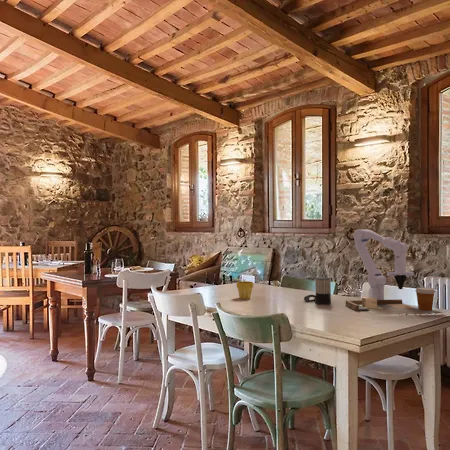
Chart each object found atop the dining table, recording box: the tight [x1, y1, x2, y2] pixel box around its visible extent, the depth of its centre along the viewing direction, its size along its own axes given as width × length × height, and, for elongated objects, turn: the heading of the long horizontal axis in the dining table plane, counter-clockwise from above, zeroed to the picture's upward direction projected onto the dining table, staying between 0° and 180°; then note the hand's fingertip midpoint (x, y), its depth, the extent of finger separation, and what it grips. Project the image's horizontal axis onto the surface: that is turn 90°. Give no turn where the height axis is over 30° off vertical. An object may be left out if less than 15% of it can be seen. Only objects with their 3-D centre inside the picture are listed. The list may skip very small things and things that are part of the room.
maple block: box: [361, 296, 377, 308], centre depth 243 cm, size 6×6×4 cm
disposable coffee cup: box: [414, 286, 436, 312], centre depth 233 cm, size 10×10×12 cm
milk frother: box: [303, 276, 332, 306], centre depth 262 cm, size 14×16×15 cm
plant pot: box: [236, 280, 254, 300], centre depth 281 cm, size 10×10×10 cm
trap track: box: [345, 298, 415, 312], centre depth 244 cm, size 16×32×3 cm, turn 95°
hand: (400, 288), depth 250 cm, fingers closed
